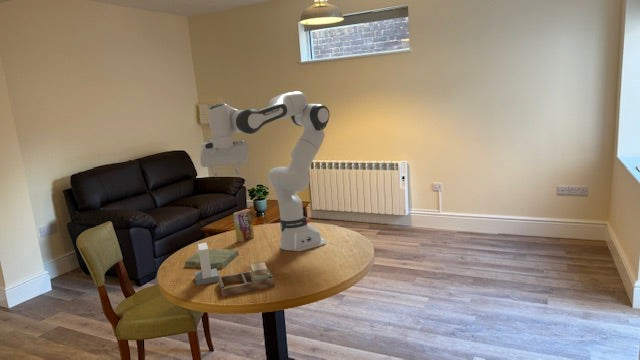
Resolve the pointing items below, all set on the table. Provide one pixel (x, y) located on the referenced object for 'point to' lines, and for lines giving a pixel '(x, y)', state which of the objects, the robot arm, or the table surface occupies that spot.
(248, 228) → the candy box
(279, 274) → the table surface
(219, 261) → the decorative tile
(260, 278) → the block
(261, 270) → the offcut top
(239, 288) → the walnut rack
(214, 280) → the slate plinth
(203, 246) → the tall white box
